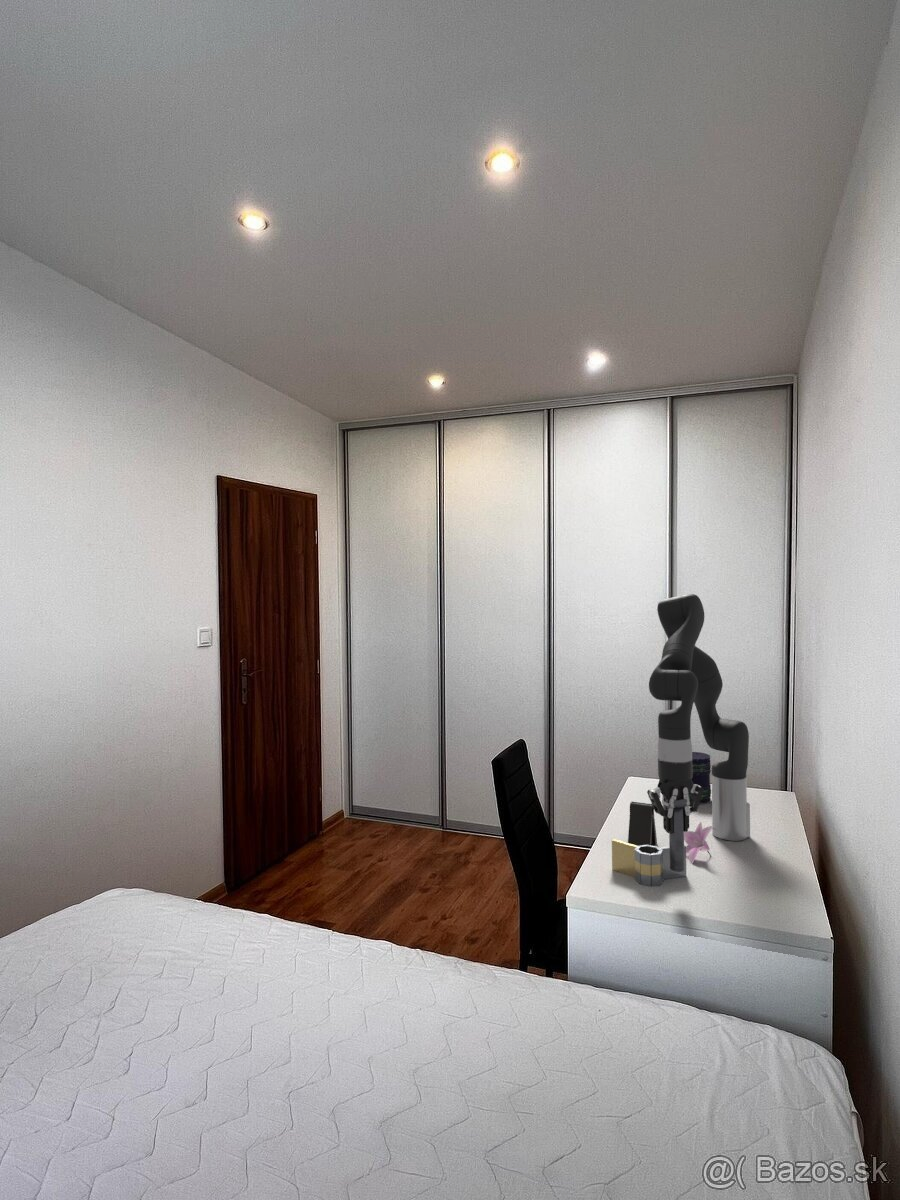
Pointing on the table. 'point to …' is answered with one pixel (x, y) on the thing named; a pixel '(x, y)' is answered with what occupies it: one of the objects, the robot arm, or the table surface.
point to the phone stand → (642, 824)
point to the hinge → (644, 862)
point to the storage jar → (702, 774)
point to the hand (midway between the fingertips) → (676, 831)
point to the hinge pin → (677, 836)
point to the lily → (697, 841)
